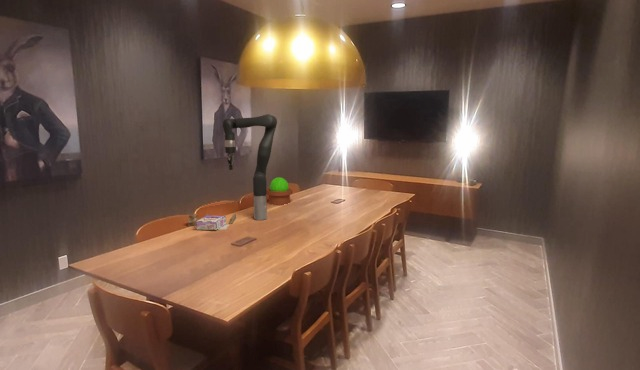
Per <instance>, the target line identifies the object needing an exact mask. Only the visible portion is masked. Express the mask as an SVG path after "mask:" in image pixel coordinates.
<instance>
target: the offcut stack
mask: <svg viewBox="0 0 640 370" xmlns="http://www.w3.org/2000/svg"><path fill="white" fill-rule="evenodd" d="M198 217H199V216H198V213H191V214H189V215H188V222H187V226H188V227H197V224H196V221H198V220H199V219H198Z"/></svg>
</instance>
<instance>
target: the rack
mask: <svg viewBox="0 0 640 370" xmlns="http://www.w3.org/2000/svg"><path fill="white" fill-rule="evenodd" d="M207 215H209V216H210V214H209V213H206V214H205V215H204V216H203V217H205V216H207ZM236 219H237V213H233V214H232V216H231V217H230V218H229V225H233V224H234V222H235V220H236Z"/></svg>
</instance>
